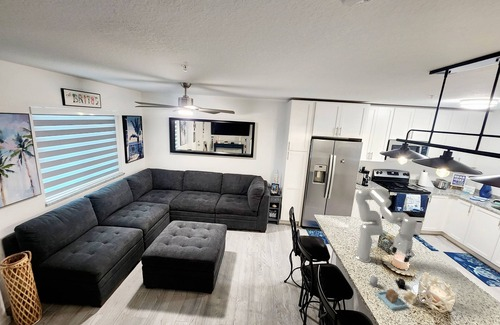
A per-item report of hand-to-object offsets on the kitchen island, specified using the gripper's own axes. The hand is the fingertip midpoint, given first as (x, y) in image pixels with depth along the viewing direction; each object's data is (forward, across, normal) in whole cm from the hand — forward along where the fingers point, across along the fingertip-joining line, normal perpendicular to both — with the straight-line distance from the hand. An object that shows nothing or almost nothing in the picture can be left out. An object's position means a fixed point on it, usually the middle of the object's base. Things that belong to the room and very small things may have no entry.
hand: (399, 257), depth 144 cm
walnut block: (+23, +11, -12) cm, 28 cm away
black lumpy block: (+25, 0, +8) cm, 26 cm away
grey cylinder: (+24, -3, -13) cm, 28 cm away
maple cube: (+24, +13, +1) cm, 27 cm away
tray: (+24, +11, -12) cm, 29 cm away
